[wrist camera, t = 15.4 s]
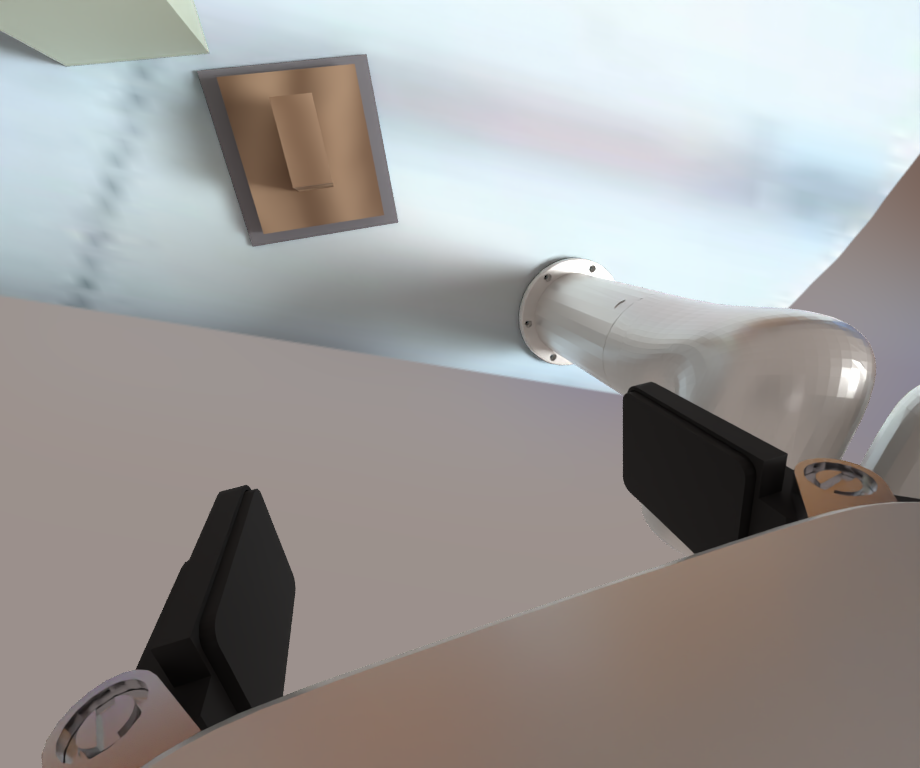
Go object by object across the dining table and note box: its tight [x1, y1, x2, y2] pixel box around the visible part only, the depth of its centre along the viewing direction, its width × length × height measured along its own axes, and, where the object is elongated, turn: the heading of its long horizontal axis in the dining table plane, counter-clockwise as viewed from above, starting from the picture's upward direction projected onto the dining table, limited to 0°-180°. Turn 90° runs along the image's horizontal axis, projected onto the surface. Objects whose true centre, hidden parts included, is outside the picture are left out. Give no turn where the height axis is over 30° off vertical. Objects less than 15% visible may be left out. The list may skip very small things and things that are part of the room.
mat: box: [197, 54, 398, 246], centre depth 40 cm, size 14×14×1 cm
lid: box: [217, 64, 384, 234], centre depth 37 cm, size 11×12×8 cm
